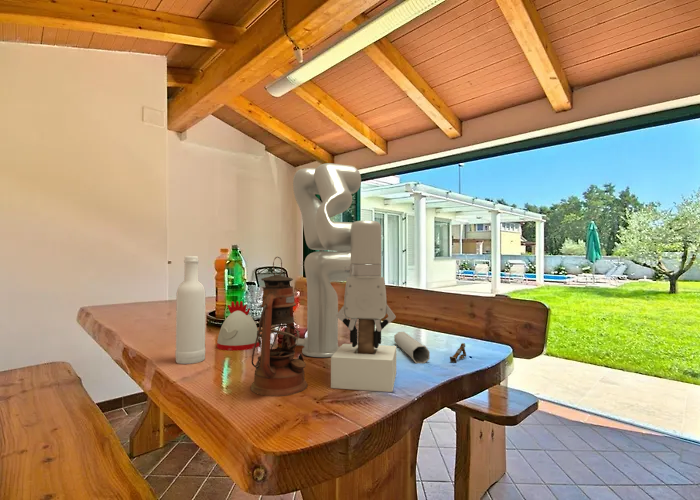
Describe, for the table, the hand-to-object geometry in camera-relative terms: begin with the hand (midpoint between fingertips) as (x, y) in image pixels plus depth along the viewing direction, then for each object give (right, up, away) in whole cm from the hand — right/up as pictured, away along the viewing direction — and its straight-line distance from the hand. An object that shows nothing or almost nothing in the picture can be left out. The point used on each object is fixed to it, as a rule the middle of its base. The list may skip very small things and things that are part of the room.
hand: (365, 345), depth 94 cm
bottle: (-50, -9, +17) cm, 53 cm away
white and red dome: (-41, -9, +36) cm, 55 cm away
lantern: (-20, -8, -5) cm, 22 cm away
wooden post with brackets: (+28, -9, +19) cm, 35 cm away
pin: (0, -5, 0) cm, 5 cm away
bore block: (0, -8, 0) cm, 8 cm away
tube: (+15, -9, +28) cm, 33 cm away
